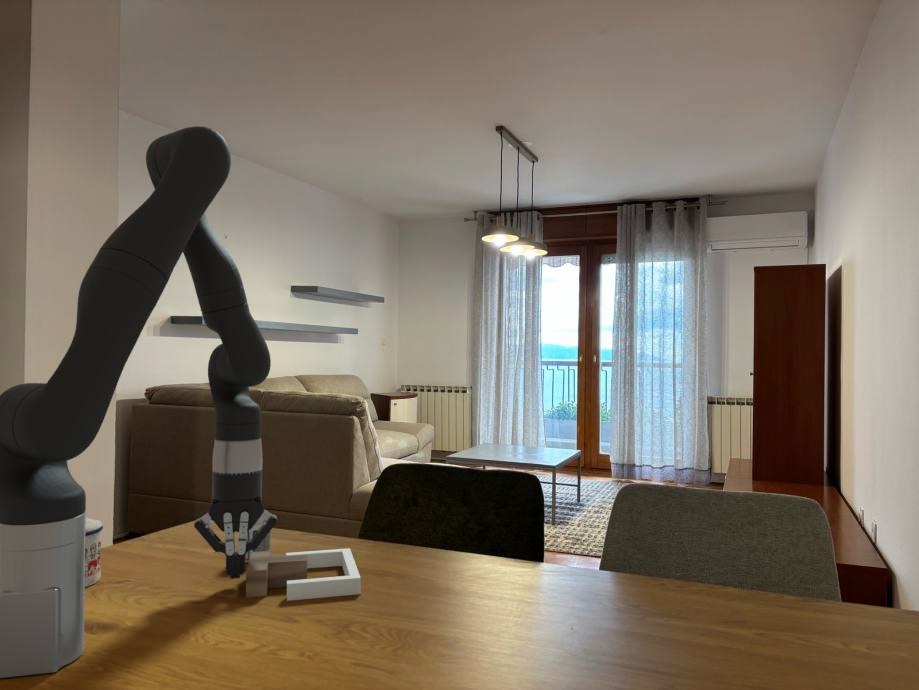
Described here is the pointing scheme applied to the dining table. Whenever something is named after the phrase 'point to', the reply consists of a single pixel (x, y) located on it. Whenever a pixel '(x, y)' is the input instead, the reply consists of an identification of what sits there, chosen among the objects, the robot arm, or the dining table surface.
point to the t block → (272, 572)
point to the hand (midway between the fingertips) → (235, 576)
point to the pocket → (327, 585)
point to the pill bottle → (263, 545)
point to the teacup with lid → (92, 551)
